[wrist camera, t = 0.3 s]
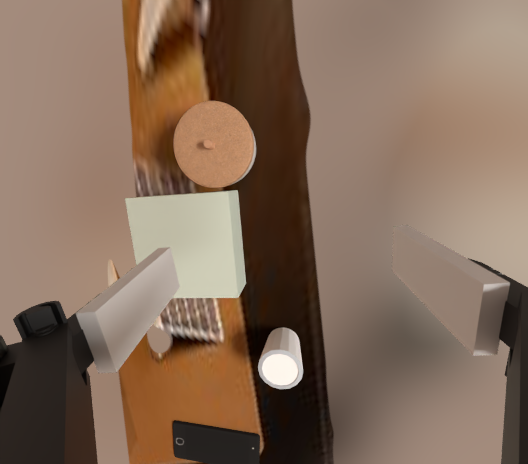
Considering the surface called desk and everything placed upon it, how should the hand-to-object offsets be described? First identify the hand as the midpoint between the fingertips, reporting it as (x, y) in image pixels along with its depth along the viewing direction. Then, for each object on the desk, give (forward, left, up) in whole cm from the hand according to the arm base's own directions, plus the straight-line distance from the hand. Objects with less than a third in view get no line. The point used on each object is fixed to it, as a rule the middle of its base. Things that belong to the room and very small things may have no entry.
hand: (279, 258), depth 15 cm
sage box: (+4, -17, -26) cm, 32 cm away
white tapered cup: (+23, -3, -26) cm, 35 cm away
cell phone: (+47, -18, -27) cm, 57 cm away
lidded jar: (-10, -10, -26) cm, 30 cm away
